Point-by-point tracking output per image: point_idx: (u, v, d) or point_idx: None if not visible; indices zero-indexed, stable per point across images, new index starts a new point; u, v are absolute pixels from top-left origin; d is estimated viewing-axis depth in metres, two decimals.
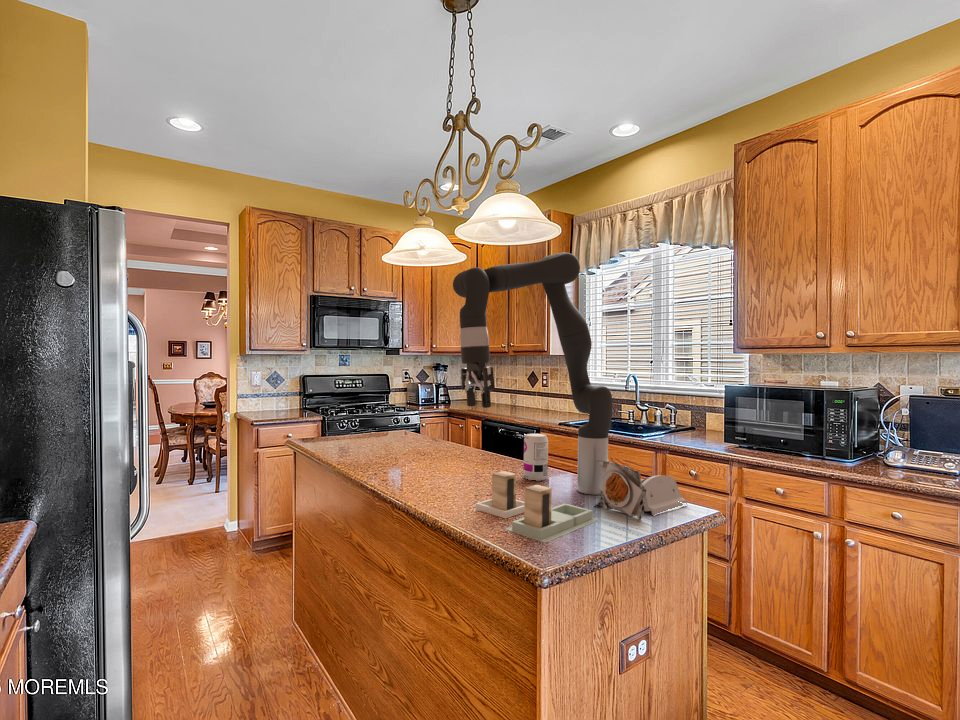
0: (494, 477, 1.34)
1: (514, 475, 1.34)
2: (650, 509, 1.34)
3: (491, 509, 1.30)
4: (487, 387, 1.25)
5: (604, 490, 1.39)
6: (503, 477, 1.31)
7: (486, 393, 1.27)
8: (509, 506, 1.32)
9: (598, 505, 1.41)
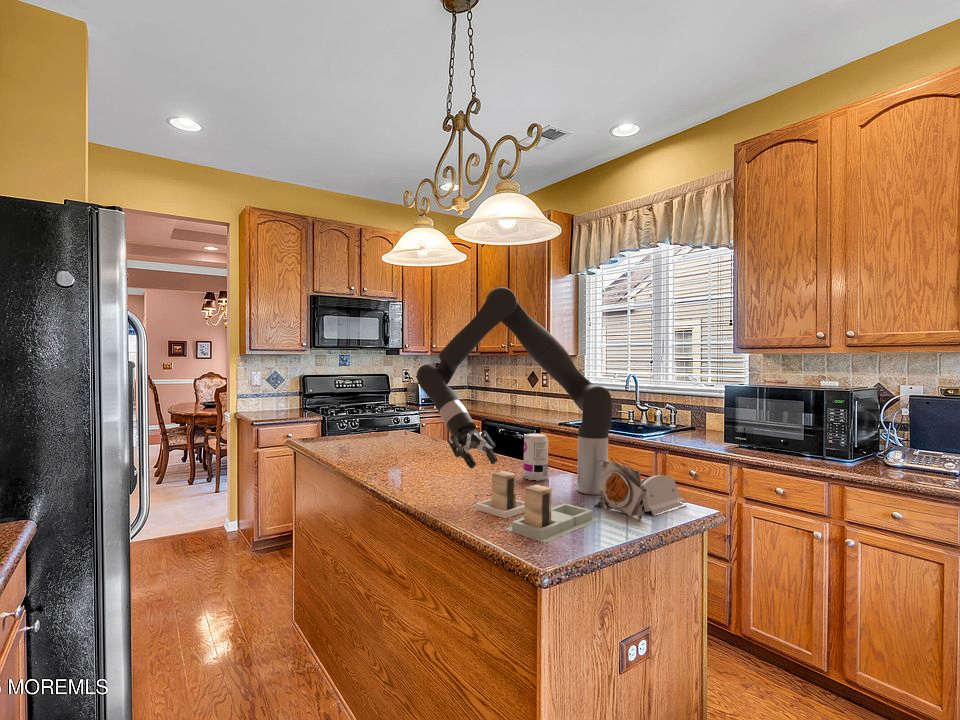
0: (494, 477, 1.34)
1: (514, 475, 1.34)
2: (650, 509, 1.34)
3: (491, 509, 1.30)
4: (455, 454, 1.37)
5: (604, 490, 1.39)
6: (503, 477, 1.31)
7: (463, 457, 1.38)
8: (509, 506, 1.32)
9: (598, 505, 1.41)
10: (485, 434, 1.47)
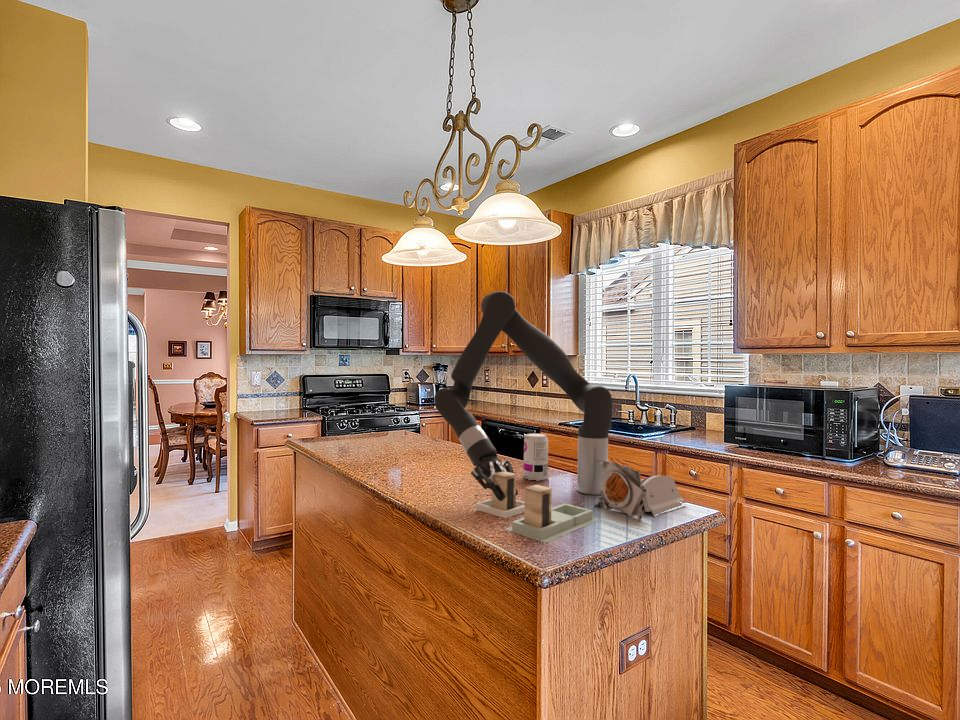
0: None
1: (514, 475, 1.34)
2: (651, 509, 1.34)
3: (491, 509, 1.30)
4: (484, 487, 1.32)
5: (604, 490, 1.39)
6: (503, 477, 1.31)
7: (492, 489, 1.32)
8: (509, 506, 1.32)
9: (598, 505, 1.41)
10: (507, 464, 1.41)
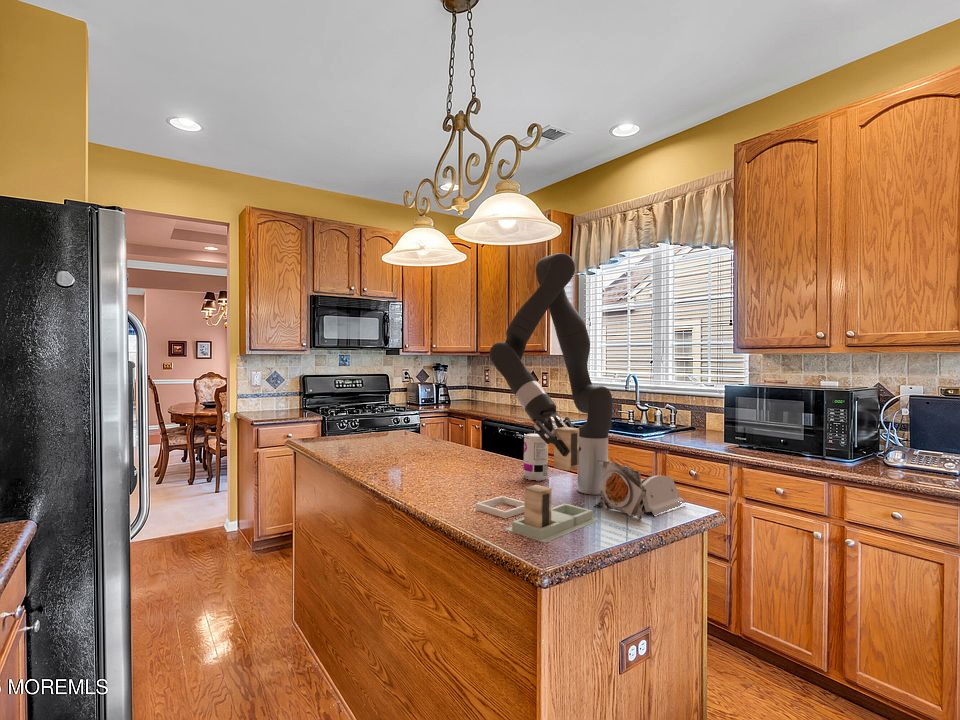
0: None
1: (577, 430, 1.28)
2: (651, 510, 1.34)
3: (491, 509, 1.30)
4: (546, 441, 1.26)
5: (604, 490, 1.39)
6: (567, 431, 1.25)
7: (555, 444, 1.26)
8: (573, 462, 1.26)
9: (598, 505, 1.41)
10: (567, 420, 1.34)
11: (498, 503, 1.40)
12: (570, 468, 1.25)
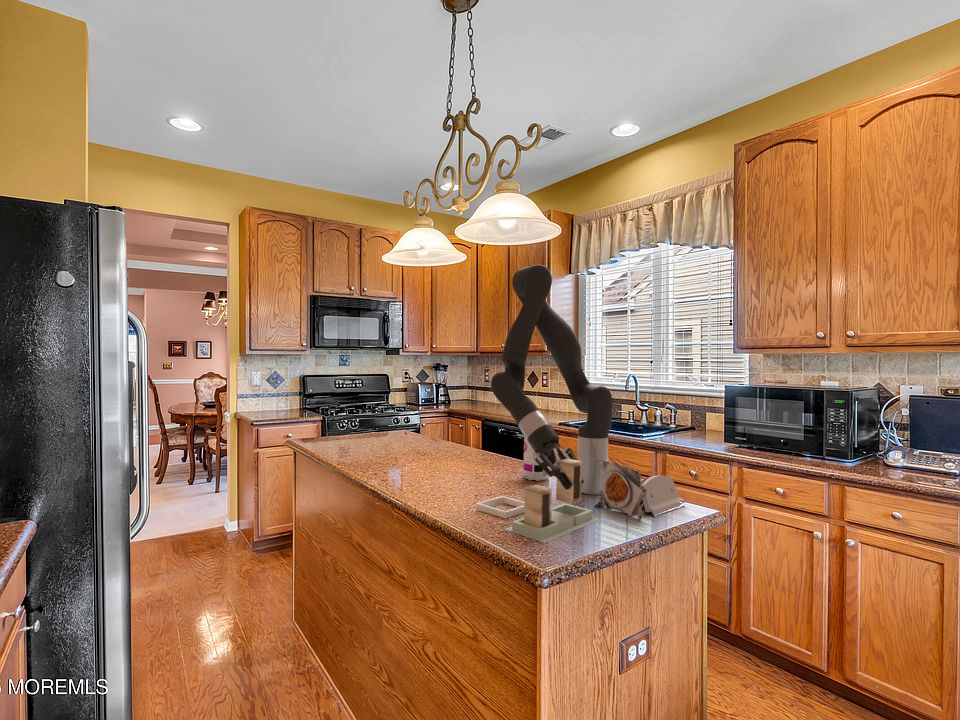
0: None
1: (580, 462, 1.27)
2: (651, 510, 1.34)
3: (491, 509, 1.30)
4: (549, 474, 1.25)
5: (604, 490, 1.39)
6: (570, 464, 1.25)
7: (558, 476, 1.26)
8: (575, 495, 1.26)
9: (598, 505, 1.41)
10: (570, 452, 1.34)
11: (498, 503, 1.40)
12: (572, 501, 1.25)
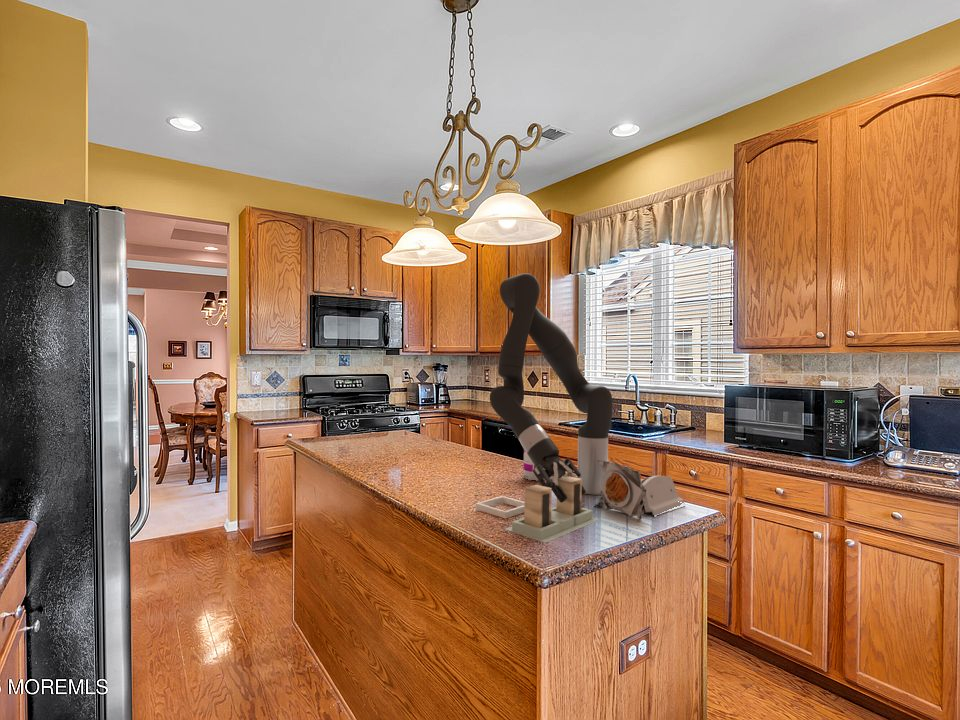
0: (559, 482, 1.27)
1: (580, 480, 1.27)
2: (651, 510, 1.34)
3: (491, 509, 1.30)
4: None
5: (604, 490, 1.39)
6: (570, 482, 1.25)
7: (552, 489, 1.25)
8: (576, 513, 1.26)
9: (598, 505, 1.41)
10: (569, 462, 1.35)
11: (498, 503, 1.40)
12: None
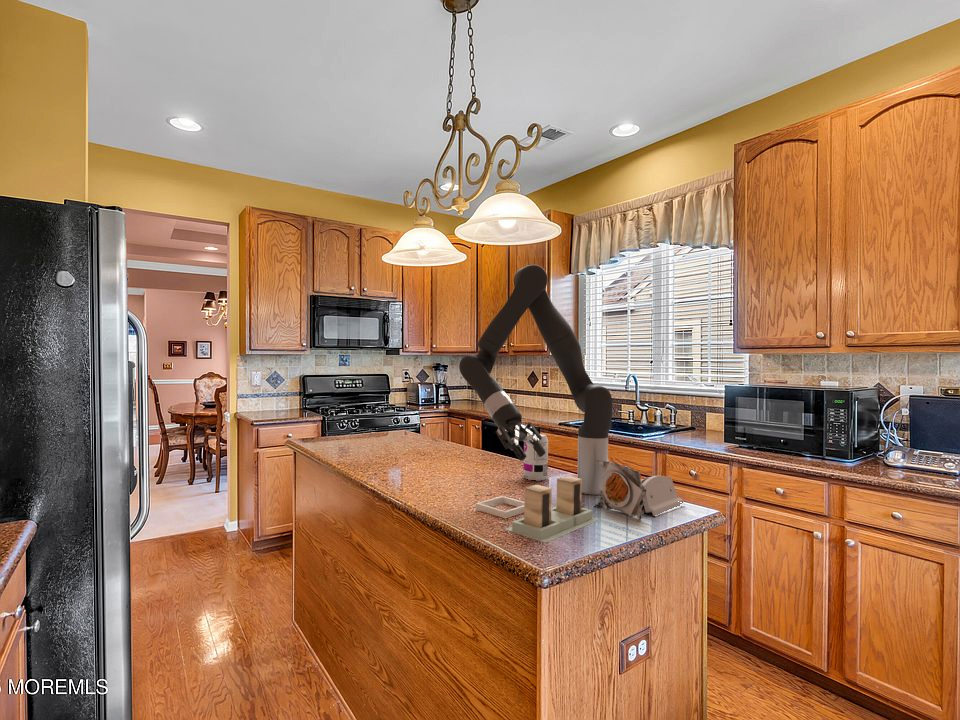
0: (559, 482, 1.27)
1: (580, 480, 1.27)
2: (651, 510, 1.34)
3: (491, 509, 1.30)
4: (504, 446, 1.34)
5: (604, 490, 1.39)
6: (570, 482, 1.25)
7: (513, 449, 1.34)
8: (576, 513, 1.26)
9: (598, 505, 1.41)
10: (531, 426, 1.44)
11: (498, 503, 1.40)
12: None
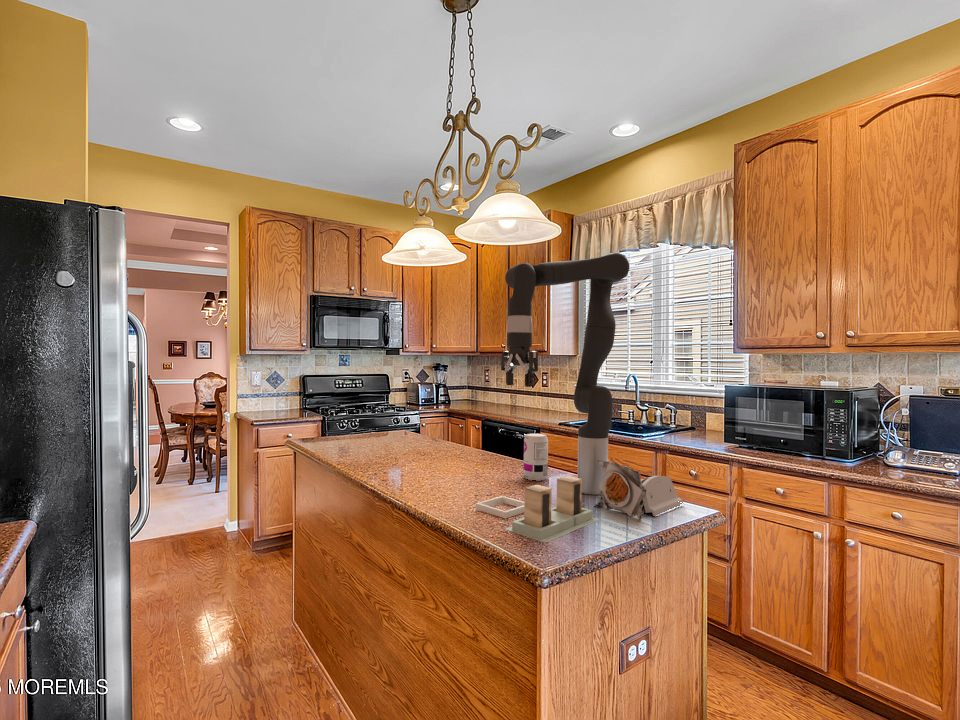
0: (559, 482, 1.27)
1: (580, 480, 1.27)
2: (651, 510, 1.33)
3: (491, 509, 1.30)
4: (532, 369, 1.43)
5: (604, 490, 1.39)
6: (570, 482, 1.25)
7: (530, 374, 1.45)
8: (576, 513, 1.26)
9: (598, 505, 1.41)
10: None
11: (498, 503, 1.40)
12: None
